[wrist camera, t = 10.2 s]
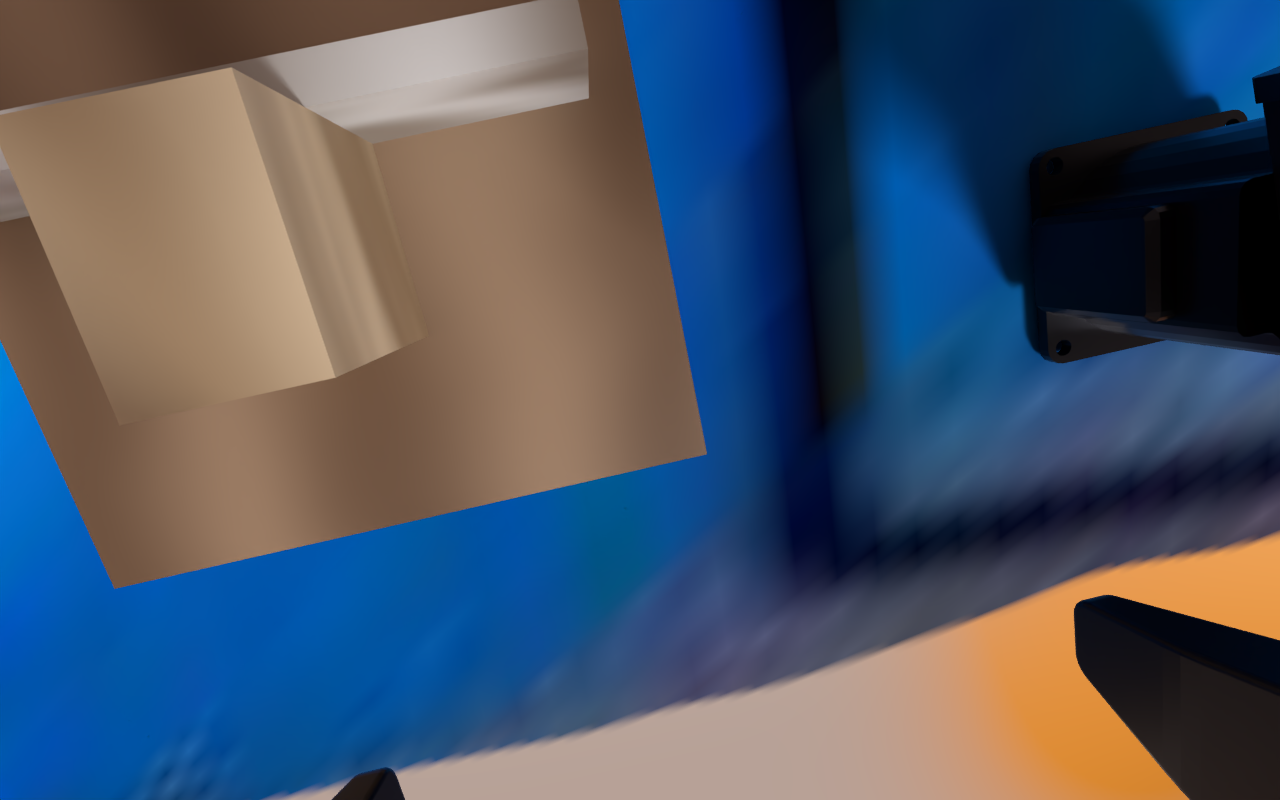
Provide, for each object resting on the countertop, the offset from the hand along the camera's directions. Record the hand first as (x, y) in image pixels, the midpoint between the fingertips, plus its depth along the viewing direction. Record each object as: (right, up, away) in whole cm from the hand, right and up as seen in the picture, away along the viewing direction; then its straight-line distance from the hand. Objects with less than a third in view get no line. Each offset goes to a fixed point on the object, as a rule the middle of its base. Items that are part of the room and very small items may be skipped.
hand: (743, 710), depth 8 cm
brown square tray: (-8, +9, +10) cm, 16 cm away
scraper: (-8, +7, +5) cm, 12 cm away
